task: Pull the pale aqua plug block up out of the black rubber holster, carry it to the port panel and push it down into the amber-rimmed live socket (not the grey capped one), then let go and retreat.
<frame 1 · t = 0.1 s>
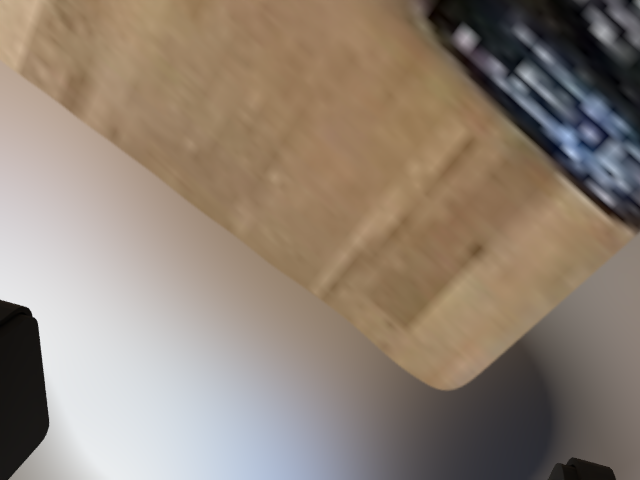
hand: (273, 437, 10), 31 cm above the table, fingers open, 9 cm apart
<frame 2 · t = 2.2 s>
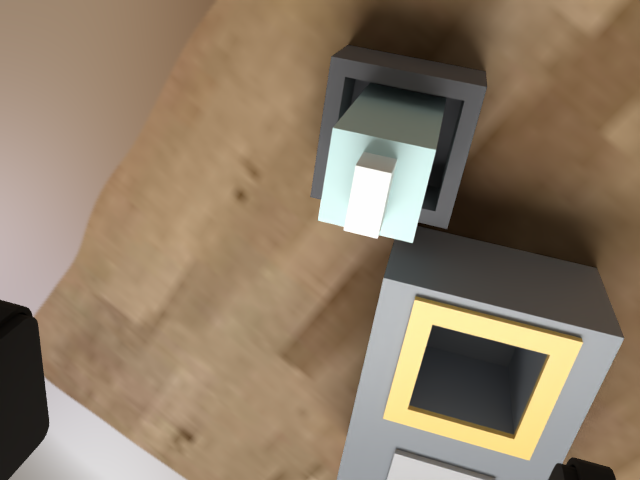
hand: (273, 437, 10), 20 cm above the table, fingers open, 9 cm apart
holster: (400, 125, 28), on the table
plug: (399, 128, 27), resting on holster
port panel: (456, 365, 33), on the table
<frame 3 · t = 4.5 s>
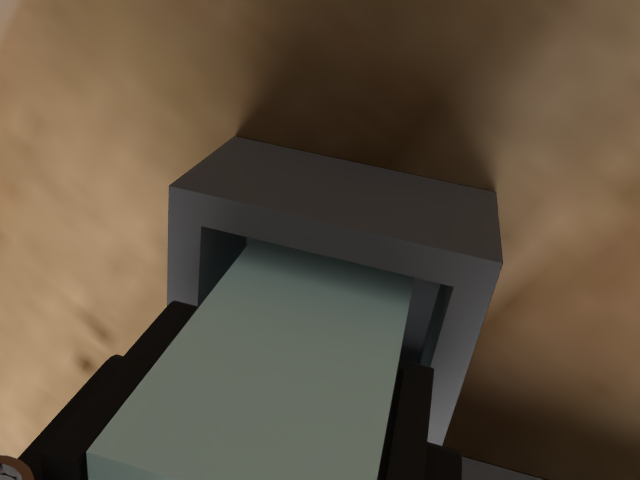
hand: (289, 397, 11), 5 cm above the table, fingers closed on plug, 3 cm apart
holster: (340, 276, 15), on the table
plug: (336, 286, 15), point 1 cm above the table, touching gripper, holster
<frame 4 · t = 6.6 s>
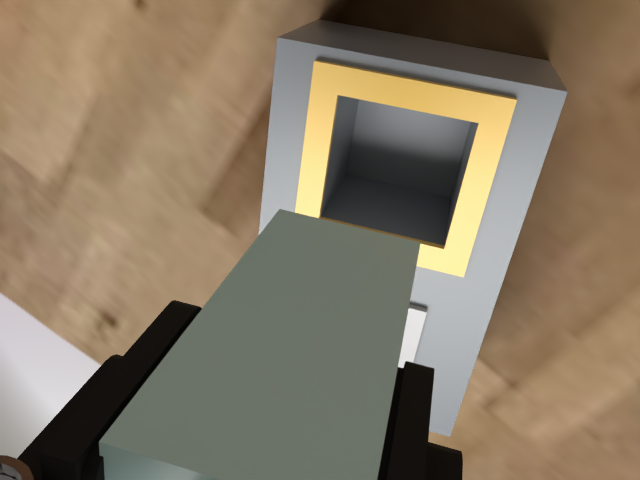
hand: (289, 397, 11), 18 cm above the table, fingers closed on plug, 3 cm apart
plug: (337, 286, 15), point 14 cm above the table, touching gripper
port panel: (394, 206, 29), on the table
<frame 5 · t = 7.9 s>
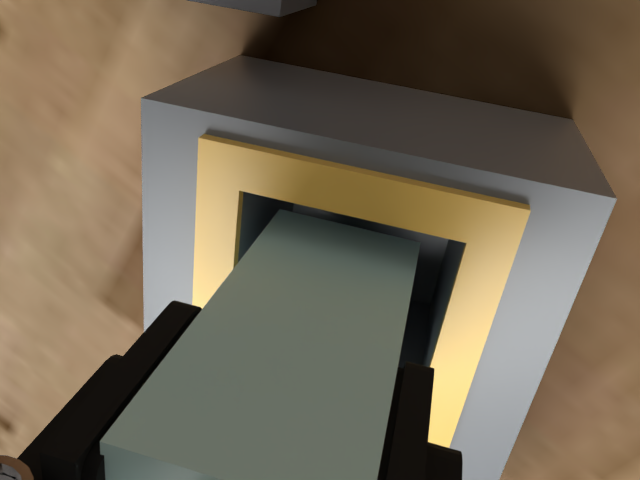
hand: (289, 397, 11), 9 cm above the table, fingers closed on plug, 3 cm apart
plug: (337, 286, 15), point 5 cm above the table, touching gripper
port panel: (354, 306, 21), on the table
when the fingers open (7 cm above the table, at t = 8.6 s): plug drops 1 cm, resting on port panel.
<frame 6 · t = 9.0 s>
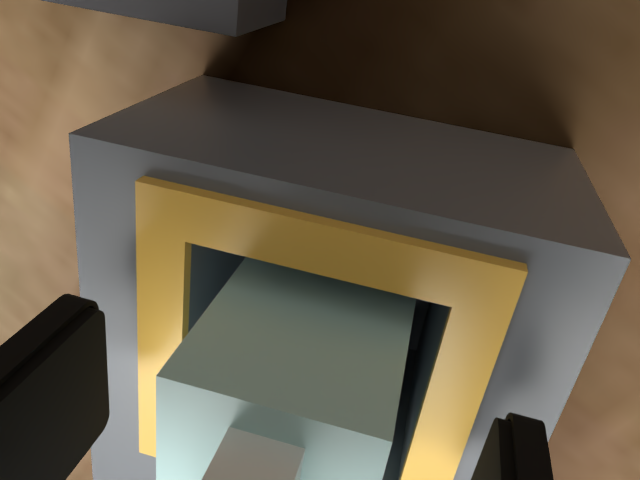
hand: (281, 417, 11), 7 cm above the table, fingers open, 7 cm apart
plug: (352, 260, 16), point 1 cm above the table, touching port panel
port panel: (334, 348, 19), on the table
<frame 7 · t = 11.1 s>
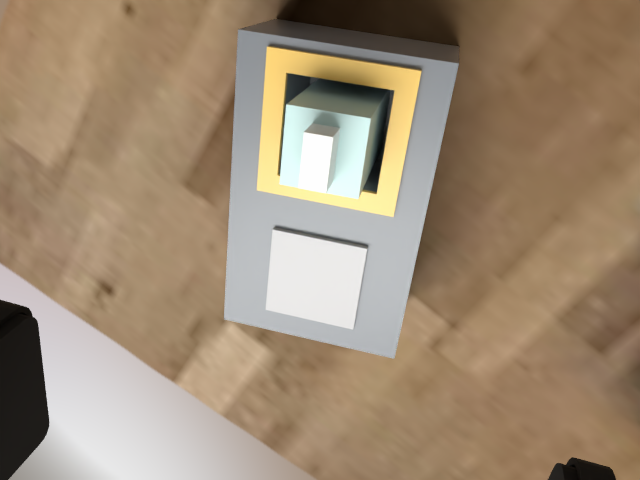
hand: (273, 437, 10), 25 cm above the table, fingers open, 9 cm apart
plug: (354, 111, 32), point 1 cm above the table, touching port panel
port panel: (345, 172, 34), on the table
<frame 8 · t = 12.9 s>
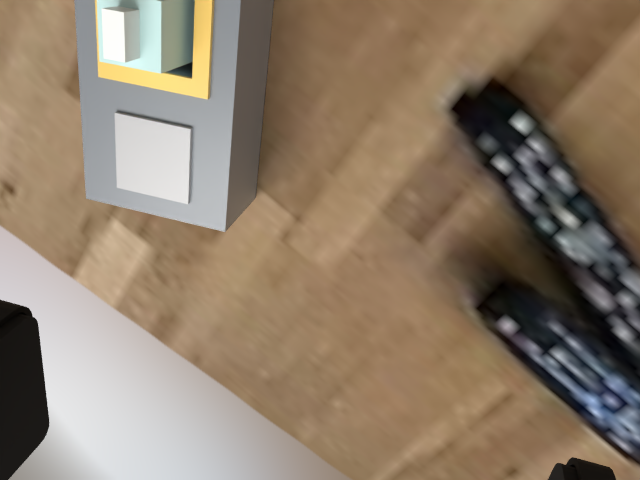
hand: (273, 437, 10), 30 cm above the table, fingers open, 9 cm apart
plug: (194, 18, 37), point 1 cm above the table, touching port panel
port panel: (196, 76, 40), on the table
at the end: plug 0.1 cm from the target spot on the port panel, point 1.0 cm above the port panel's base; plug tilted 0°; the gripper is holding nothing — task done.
